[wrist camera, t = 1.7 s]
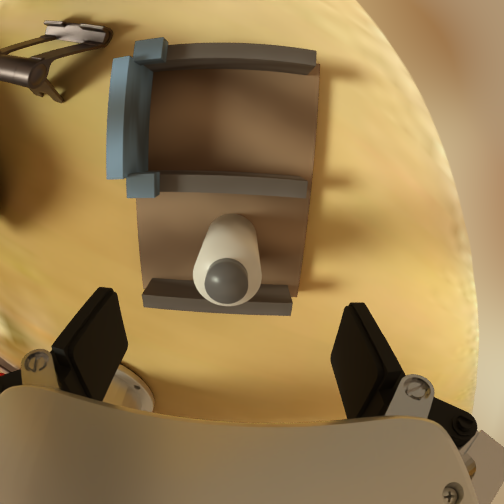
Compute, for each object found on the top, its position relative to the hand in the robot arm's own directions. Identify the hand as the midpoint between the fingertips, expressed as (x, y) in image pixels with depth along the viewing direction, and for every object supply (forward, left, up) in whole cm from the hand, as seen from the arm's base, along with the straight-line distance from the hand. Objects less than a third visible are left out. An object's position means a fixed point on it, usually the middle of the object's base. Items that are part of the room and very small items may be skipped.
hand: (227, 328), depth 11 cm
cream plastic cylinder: (-1, 0, -13) cm, 13 cm away
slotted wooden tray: (+4, +1, -14) cm, 14 cm away
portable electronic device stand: (+16, +17, -14) cm, 28 cm away
